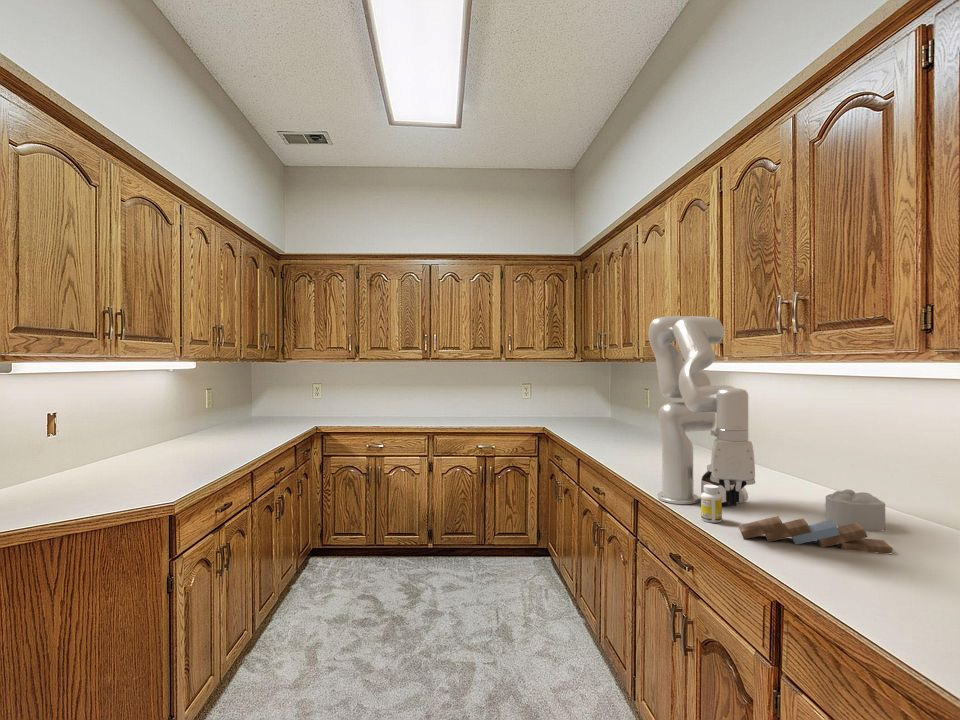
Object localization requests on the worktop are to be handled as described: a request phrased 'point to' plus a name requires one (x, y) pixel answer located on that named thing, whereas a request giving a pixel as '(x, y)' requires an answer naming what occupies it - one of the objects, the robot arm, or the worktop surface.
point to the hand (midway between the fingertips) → (732, 504)
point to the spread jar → (722, 491)
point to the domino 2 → (790, 530)
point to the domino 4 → (867, 545)
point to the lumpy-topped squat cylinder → (855, 510)
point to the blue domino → (817, 532)
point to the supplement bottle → (711, 504)
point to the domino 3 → (844, 535)
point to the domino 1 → (761, 527)
